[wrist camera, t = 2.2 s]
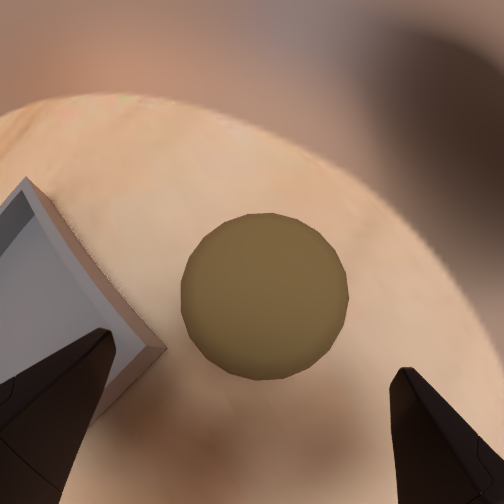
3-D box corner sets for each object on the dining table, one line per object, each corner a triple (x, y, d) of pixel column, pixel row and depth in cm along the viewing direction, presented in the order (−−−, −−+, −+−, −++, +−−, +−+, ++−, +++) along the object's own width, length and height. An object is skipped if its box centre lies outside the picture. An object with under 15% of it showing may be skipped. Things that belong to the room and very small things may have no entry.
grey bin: (43, 472, 14) (14, 484, 10) (-40, 322, 17) (-68, 314, 13) (167, 347, 18) (146, 345, 14) (51, 200, 21) (25, 176, 17)
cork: (215, 271, 19) (175, 174, 9) (310, 280, 19) (373, 194, 9) (203, 366, 17) (137, 382, 7) (303, 376, 17) (371, 404, 7)
